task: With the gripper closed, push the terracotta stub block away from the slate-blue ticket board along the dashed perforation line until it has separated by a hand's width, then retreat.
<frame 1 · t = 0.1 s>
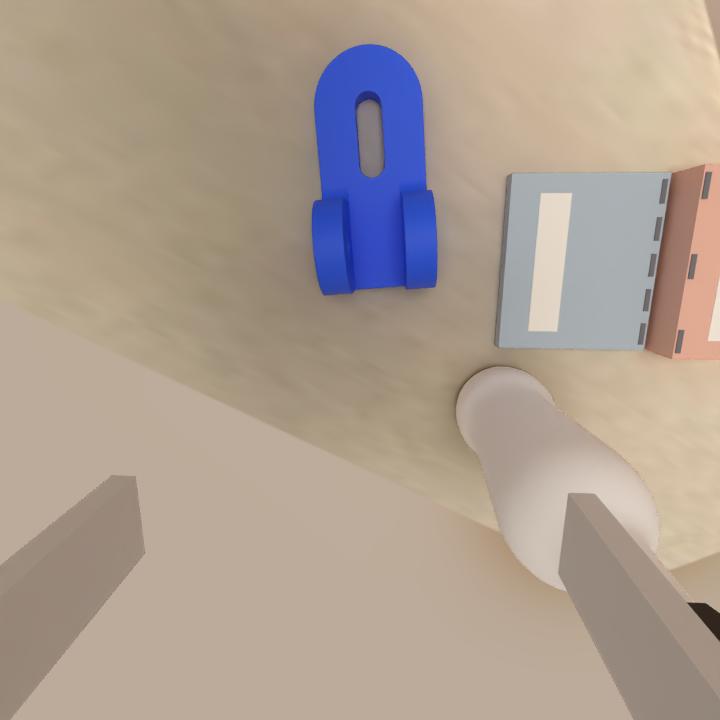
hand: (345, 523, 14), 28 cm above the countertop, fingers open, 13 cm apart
stub: (703, 265, 35), point 3 cm above the countertop, slide at 0.0 cm
bracket: (373, 177, 38), on the countertop
ticket: (573, 264, 38), on the countertop
bottle: (497, 404, 42), on the countertop
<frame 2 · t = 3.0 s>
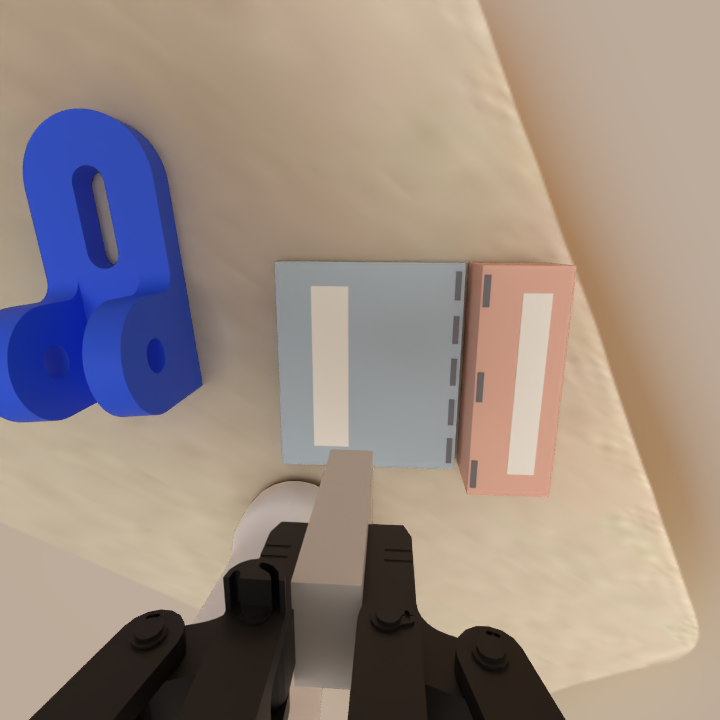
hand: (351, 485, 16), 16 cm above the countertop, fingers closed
stub: (508, 377, 28), point 3 cm above the countertop, slide at 0.0 cm
bracket: (125, 262, 31), on the countertop
ticket: (369, 364, 31), on the countertop
bottle: (299, 520, 35), on the countertop
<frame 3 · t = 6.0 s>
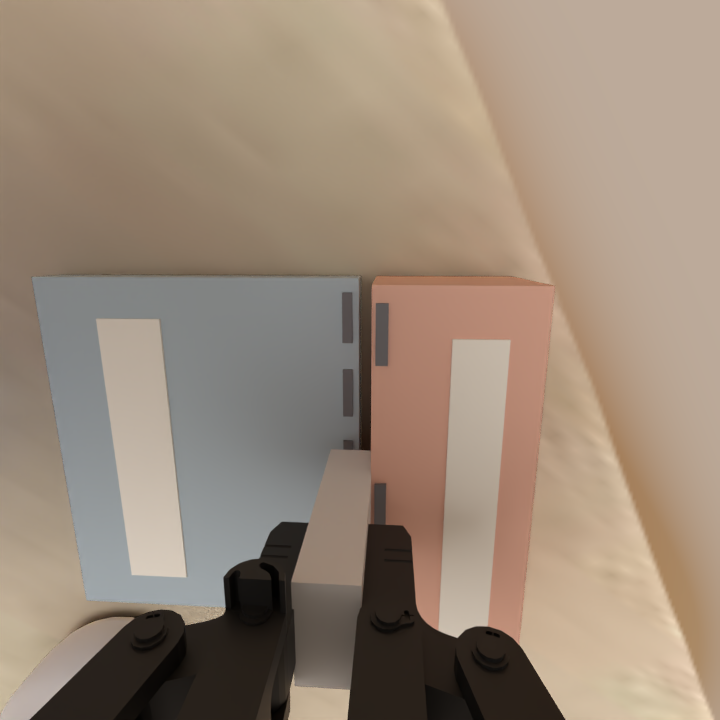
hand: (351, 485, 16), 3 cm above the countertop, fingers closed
stub: (442, 477, 16), point 3 cm above the countertop, slide at 0.2 cm, touching gripper
ticket: (220, 442, 19), on the countertop
bottle: (137, 670, 23), on the countertop
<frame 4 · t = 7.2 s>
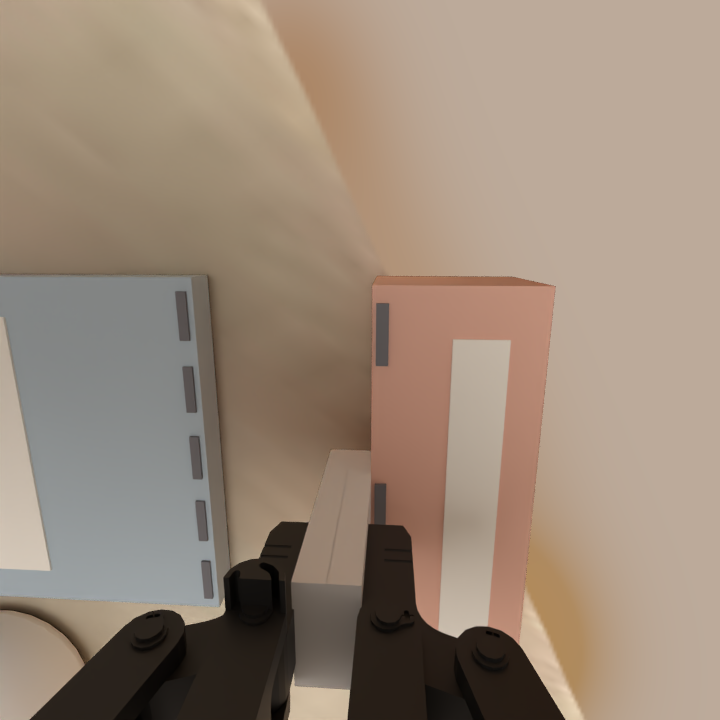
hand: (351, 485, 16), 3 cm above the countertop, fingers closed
stub: (442, 477, 16), point 3 cm above the countertop, slide at 6.2 cm, touching gripper
ticket: (85, 438, 20), on the countertop
bottle: (24, 663, 23), on the countertop
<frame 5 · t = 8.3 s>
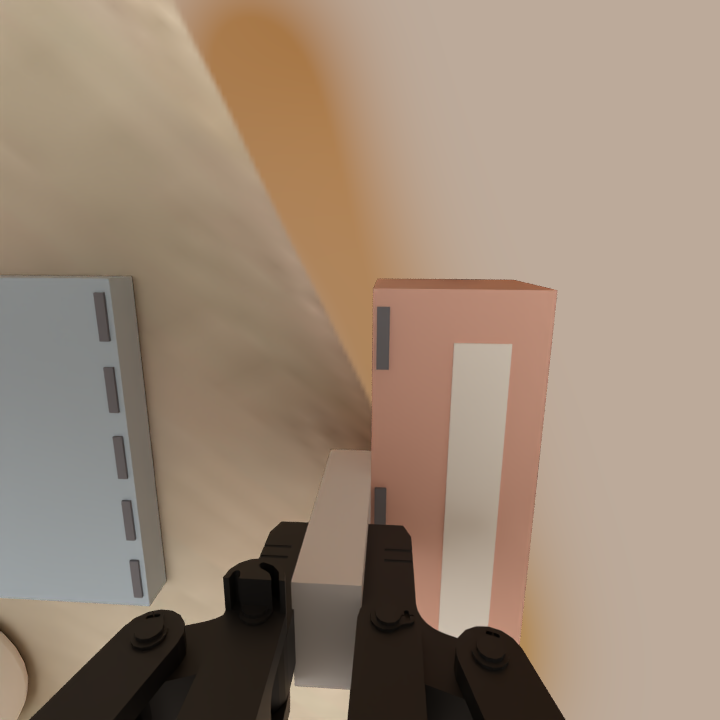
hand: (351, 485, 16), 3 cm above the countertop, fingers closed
stub: (442, 481, 16), point 3 cm above the countertop, slide at 9.3 cm, touching gripper
ticket: (17, 437, 20), on the countertop
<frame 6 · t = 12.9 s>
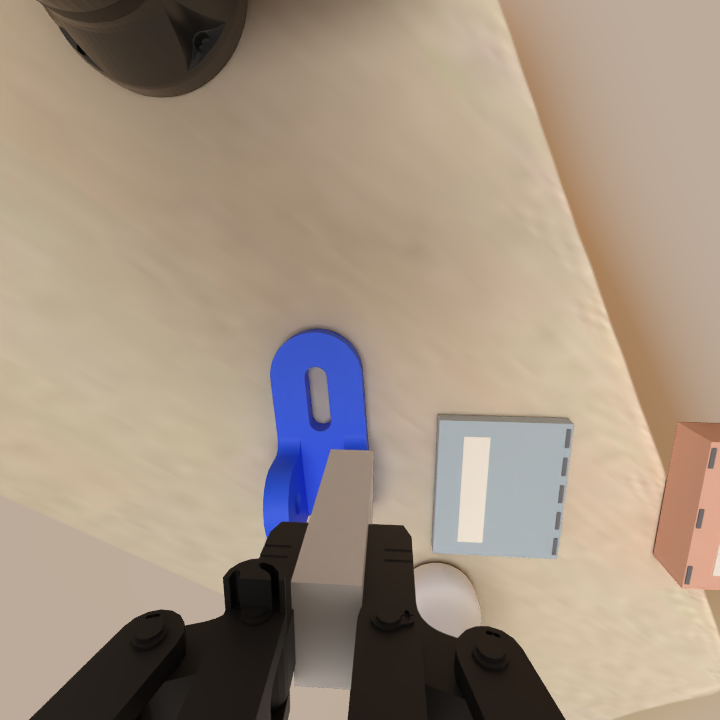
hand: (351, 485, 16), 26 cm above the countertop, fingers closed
stub: (709, 505, 41), point 3 cm above the countertop, slide at 9.3 cm
bracket: (324, 419, 44), on the countertop
ticket: (496, 483, 44), on the countertop
bottle: (435, 590, 48), on the countertop
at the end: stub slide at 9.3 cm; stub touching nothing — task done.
